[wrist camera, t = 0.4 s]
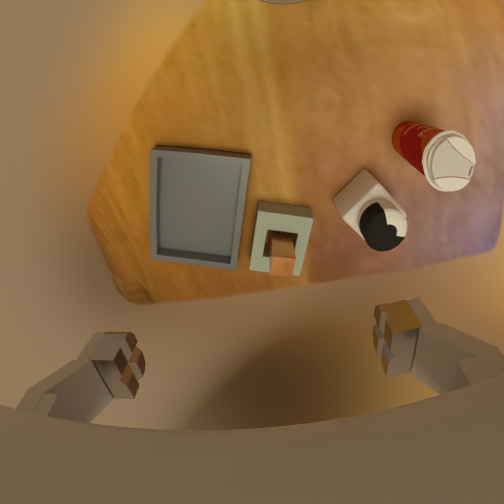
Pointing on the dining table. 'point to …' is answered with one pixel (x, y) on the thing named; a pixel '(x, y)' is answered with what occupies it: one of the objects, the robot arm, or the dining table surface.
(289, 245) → the pin
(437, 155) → the paper cup
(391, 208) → the medicine bottle
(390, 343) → the robot arm
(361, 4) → the dining table surface
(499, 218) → the dining table surface
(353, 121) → the dining table surface
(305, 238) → the socket block
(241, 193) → the tray
